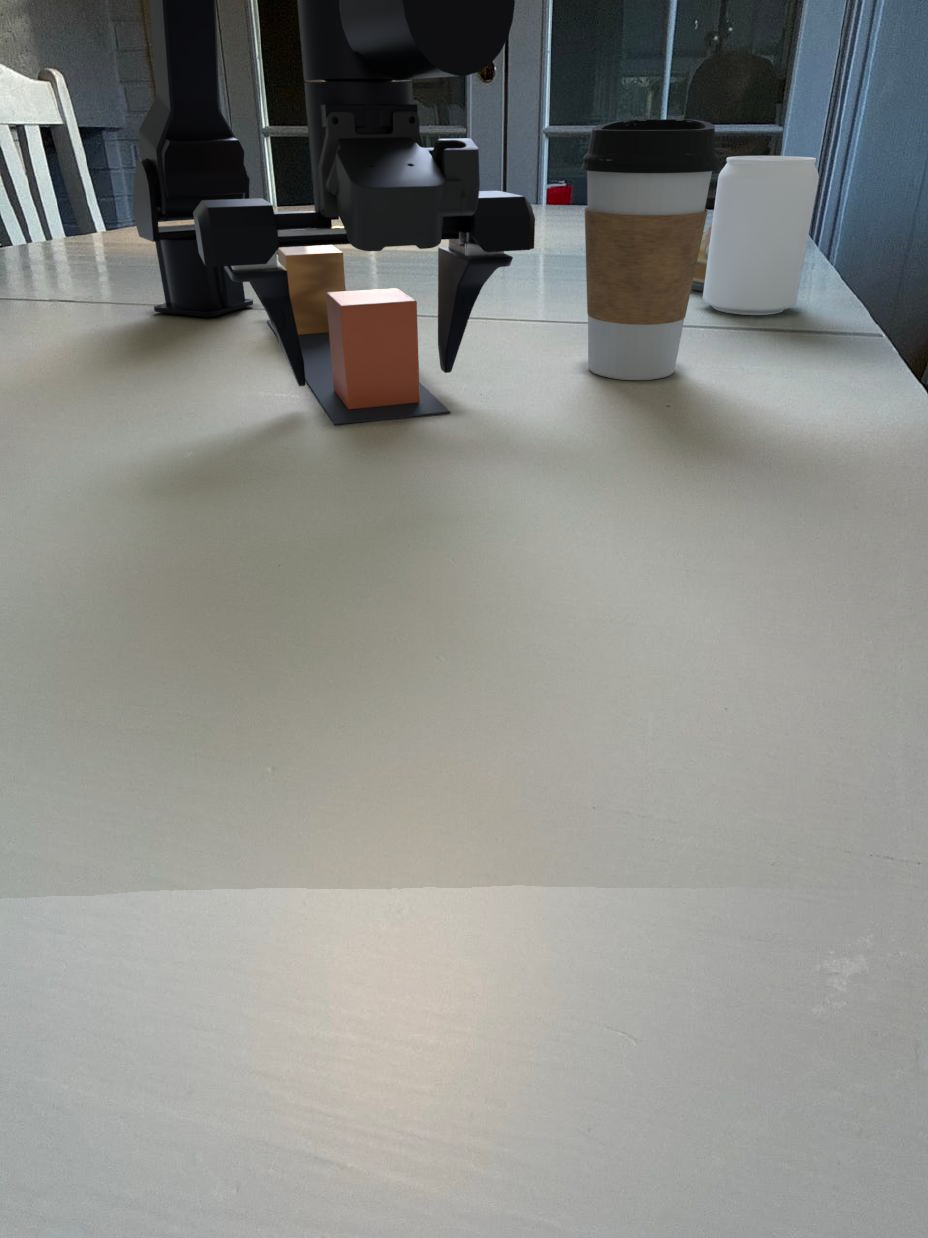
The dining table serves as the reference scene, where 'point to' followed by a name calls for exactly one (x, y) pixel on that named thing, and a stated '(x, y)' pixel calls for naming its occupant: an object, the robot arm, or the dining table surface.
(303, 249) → the wood block
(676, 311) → the coffee cup
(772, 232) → the beverage can
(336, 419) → the line strip
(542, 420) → the dining table surface
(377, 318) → the terracotta block
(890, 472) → the dining table surface
